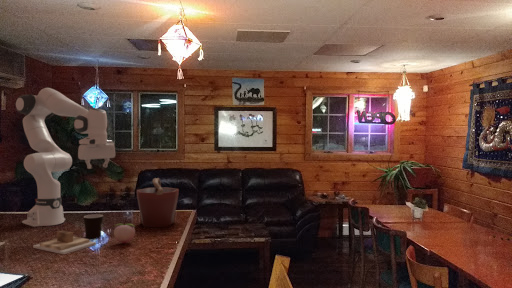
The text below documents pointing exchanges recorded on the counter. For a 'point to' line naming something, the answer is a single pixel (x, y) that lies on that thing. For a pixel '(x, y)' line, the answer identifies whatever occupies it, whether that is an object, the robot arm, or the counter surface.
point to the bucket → (157, 205)
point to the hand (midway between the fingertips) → (97, 167)
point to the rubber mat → (65, 249)
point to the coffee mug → (93, 225)
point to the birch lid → (64, 241)
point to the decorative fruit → (124, 232)
